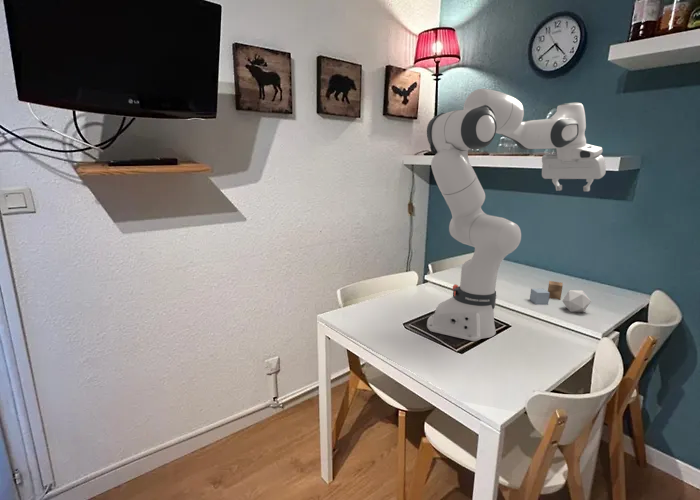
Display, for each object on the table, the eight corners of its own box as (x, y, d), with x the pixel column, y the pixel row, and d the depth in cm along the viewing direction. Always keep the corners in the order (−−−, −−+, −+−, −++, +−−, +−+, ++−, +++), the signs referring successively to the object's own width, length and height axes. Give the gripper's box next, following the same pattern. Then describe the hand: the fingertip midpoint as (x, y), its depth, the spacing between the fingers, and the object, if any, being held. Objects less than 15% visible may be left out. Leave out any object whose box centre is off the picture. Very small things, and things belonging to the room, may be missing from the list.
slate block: (535, 304, 156) (537, 292, 154) (529, 300, 160) (531, 288, 159) (548, 304, 156) (549, 292, 155) (541, 300, 161) (543, 288, 160)
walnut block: (547, 297, 163) (548, 284, 162) (547, 294, 168) (549, 280, 166) (560, 299, 161) (562, 286, 160) (560, 296, 166) (562, 282, 164)
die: (587, 318, 144) (599, 296, 145) (566, 305, 145) (578, 283, 146) (574, 317, 152) (585, 296, 154) (554, 305, 153) (566, 284, 154)
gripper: (537, 155, 141) (539, 192, 146) (599, 152, 125) (599, 194, 130) (546, 151, 144) (548, 187, 149) (607, 147, 128) (607, 188, 133)
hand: (572, 190), depth 139 cm, fingers open, 8 cm apart
